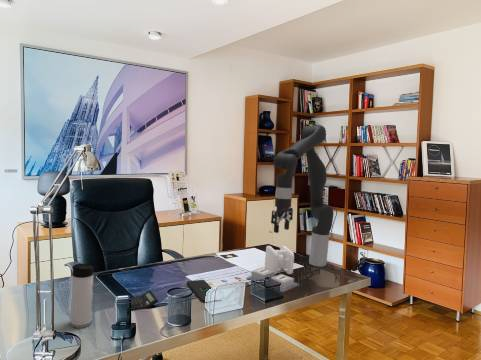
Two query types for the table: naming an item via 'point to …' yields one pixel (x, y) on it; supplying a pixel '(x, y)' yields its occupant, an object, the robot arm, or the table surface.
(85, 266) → the travel mug
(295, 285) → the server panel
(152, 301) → the calculator
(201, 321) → the table surface
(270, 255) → the cable organizer
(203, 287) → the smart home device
